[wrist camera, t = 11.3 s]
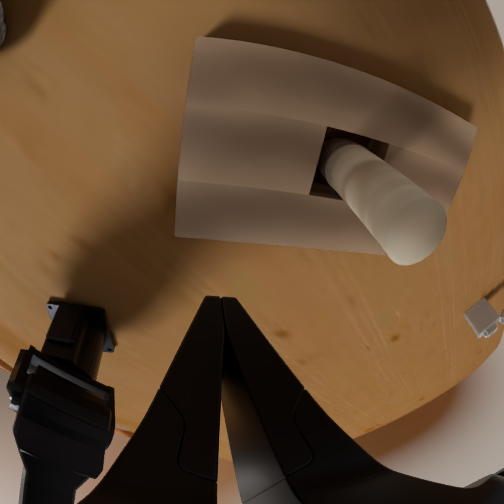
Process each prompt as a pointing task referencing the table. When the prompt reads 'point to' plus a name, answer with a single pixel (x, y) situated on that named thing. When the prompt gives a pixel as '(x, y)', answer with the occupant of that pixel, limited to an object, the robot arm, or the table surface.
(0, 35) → the hammer
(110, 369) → the table surface
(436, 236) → the dowel
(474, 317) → the lighter
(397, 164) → the board
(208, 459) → the robot arm
